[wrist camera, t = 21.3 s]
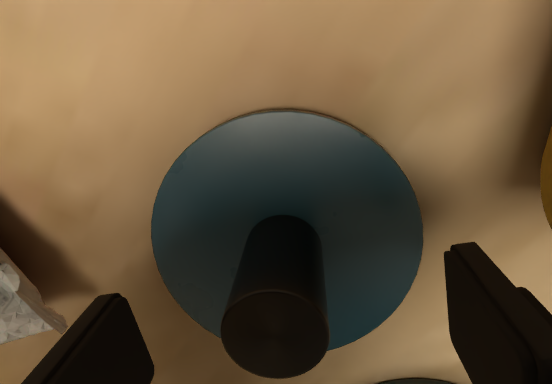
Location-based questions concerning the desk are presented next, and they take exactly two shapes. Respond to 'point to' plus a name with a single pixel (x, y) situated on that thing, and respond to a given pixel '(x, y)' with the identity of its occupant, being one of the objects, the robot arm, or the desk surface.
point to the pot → (415, 381)
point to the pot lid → (286, 237)
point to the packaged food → (23, 305)
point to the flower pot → (547, 179)
